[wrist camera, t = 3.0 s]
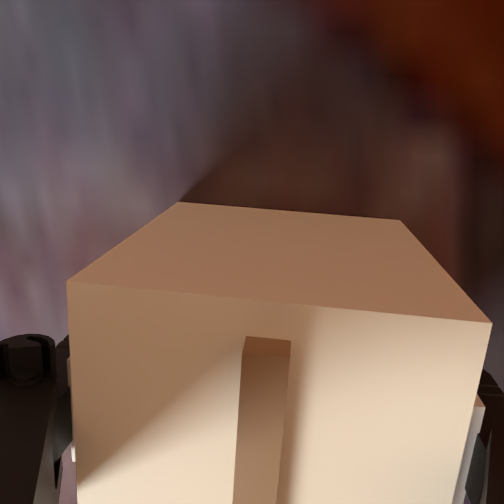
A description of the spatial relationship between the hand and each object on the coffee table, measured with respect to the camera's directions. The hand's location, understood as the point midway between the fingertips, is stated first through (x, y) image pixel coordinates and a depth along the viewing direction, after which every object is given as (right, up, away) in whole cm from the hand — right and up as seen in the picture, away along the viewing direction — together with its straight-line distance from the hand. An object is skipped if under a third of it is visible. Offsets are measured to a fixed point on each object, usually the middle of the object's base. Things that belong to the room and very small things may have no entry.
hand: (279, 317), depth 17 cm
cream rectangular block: (0, 0, 0) cm, 0 cm away
